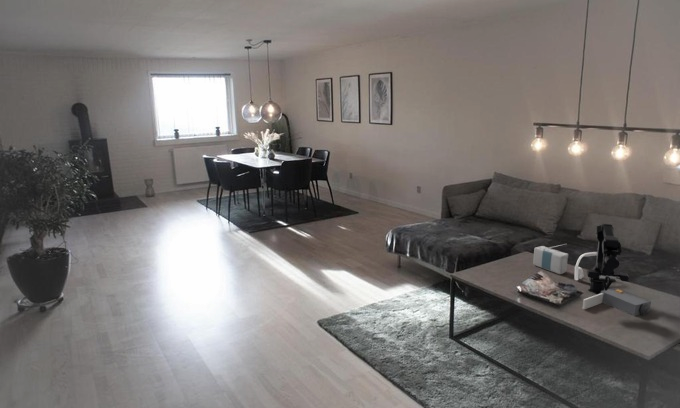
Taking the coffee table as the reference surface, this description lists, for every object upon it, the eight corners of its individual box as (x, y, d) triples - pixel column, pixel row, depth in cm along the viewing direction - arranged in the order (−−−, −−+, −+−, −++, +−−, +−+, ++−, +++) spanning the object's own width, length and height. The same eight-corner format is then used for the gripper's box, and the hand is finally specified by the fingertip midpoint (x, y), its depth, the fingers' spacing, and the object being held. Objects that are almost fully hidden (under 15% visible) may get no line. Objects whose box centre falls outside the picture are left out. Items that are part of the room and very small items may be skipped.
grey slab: (599, 301, 258) (601, 289, 257) (614, 297, 263) (616, 286, 261) (636, 317, 239) (638, 304, 238) (652, 312, 244) (653, 300, 242)
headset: (578, 282, 284) (581, 255, 280) (570, 278, 291) (573, 251, 287) (606, 280, 288) (609, 252, 284) (598, 275, 294) (601, 249, 290)
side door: (600, 301, 257) (601, 292, 256) (603, 302, 256) (604, 293, 255) (580, 308, 249) (581, 298, 248) (584, 309, 248) (585, 300, 246)
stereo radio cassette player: (532, 265, 314) (534, 237, 309) (540, 263, 318) (543, 235, 313) (559, 275, 296) (562, 246, 291) (567, 273, 300) (570, 243, 295)
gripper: (626, 259, 244) (623, 287, 248) (587, 255, 251) (584, 282, 255) (630, 266, 234) (627, 295, 238) (589, 262, 241) (586, 290, 245)
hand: (605, 290), depth 244 cm, fingers closed
